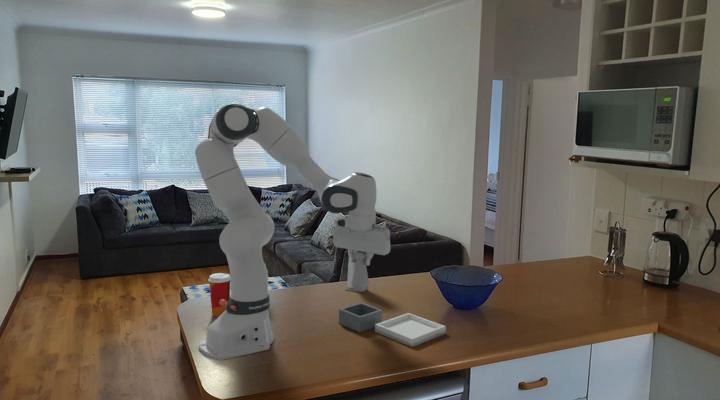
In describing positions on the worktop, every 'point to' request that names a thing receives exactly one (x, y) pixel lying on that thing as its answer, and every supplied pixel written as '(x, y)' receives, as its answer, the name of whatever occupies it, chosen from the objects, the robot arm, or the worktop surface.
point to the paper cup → (219, 292)
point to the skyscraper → (350, 274)
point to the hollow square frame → (360, 316)
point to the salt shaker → (360, 272)
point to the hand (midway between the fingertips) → (360, 263)
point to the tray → (410, 329)
